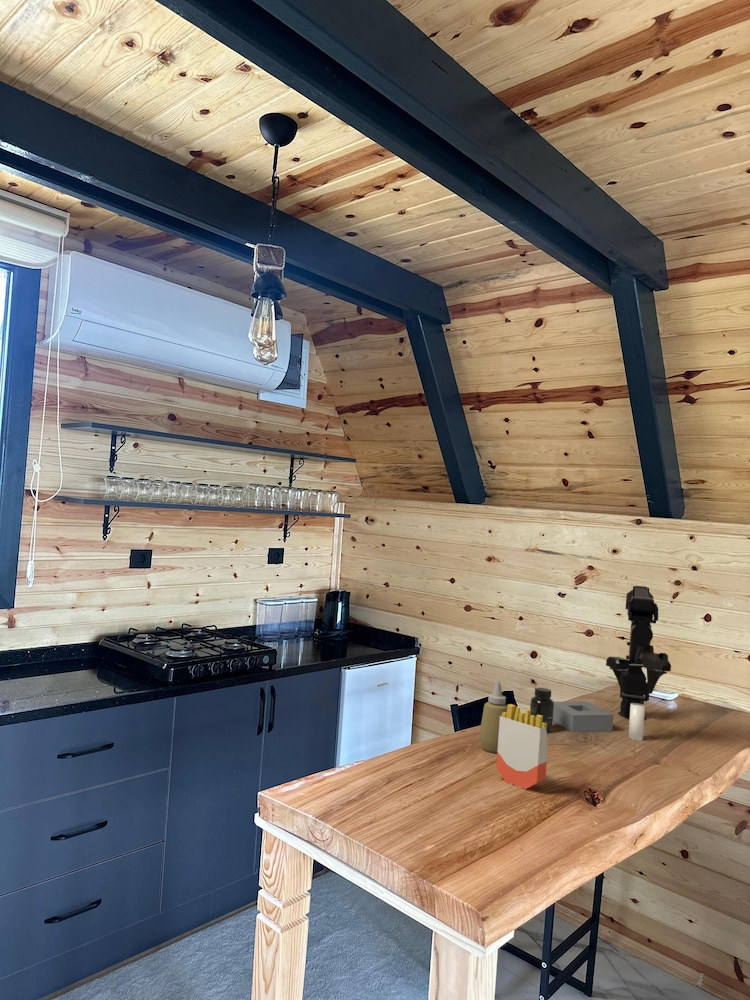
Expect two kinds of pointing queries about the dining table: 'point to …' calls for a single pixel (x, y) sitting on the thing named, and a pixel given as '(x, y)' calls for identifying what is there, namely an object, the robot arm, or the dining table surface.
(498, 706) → the squeeze bottle
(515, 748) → the french fries container
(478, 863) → the dining table surface
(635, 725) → the peg
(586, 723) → the socket block
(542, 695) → the supplement bottle
